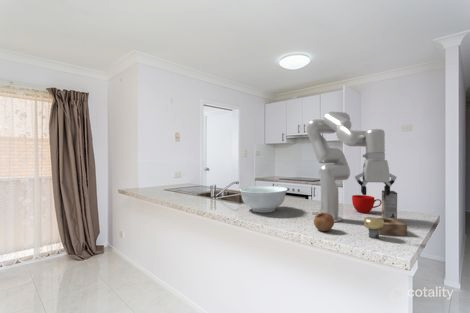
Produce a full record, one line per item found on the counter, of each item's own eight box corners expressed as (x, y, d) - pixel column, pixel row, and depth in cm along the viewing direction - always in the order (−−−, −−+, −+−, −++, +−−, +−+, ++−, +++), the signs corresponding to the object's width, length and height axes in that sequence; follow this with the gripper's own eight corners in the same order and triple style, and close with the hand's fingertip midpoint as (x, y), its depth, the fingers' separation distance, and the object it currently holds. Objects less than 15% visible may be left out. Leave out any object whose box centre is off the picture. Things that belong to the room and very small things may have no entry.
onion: (321, 238, 121) (315, 221, 118) (313, 227, 130) (308, 211, 127) (339, 231, 121) (335, 214, 118) (330, 221, 130) (326, 205, 127)
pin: (368, 239, 111) (368, 221, 111) (361, 234, 118) (361, 216, 118) (386, 240, 110) (386, 221, 110) (379, 234, 117) (379, 217, 117)
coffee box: (381, 217, 150) (381, 190, 150) (393, 218, 148) (393, 190, 148) (384, 220, 142) (384, 192, 142) (397, 221, 140) (397, 192, 140)
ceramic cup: (382, 215, 153) (383, 199, 153) (352, 213, 160) (352, 197, 160) (380, 211, 165) (380, 196, 165) (351, 209, 172) (351, 194, 172)
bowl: (229, 209, 171) (229, 188, 171) (262, 203, 192) (262, 184, 192) (264, 218, 147) (264, 193, 147) (297, 210, 168) (297, 188, 168)
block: (379, 234, 117) (379, 223, 117) (368, 227, 129) (368, 217, 129) (407, 235, 116) (407, 224, 116) (393, 228, 128) (393, 218, 128)
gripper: (358, 157, 111) (358, 196, 111) (400, 156, 109) (400, 196, 109) (352, 157, 119) (352, 193, 118) (391, 156, 117) (391, 194, 117)
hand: (375, 195), depth 114 cm, fingers open, 9 cm apart
